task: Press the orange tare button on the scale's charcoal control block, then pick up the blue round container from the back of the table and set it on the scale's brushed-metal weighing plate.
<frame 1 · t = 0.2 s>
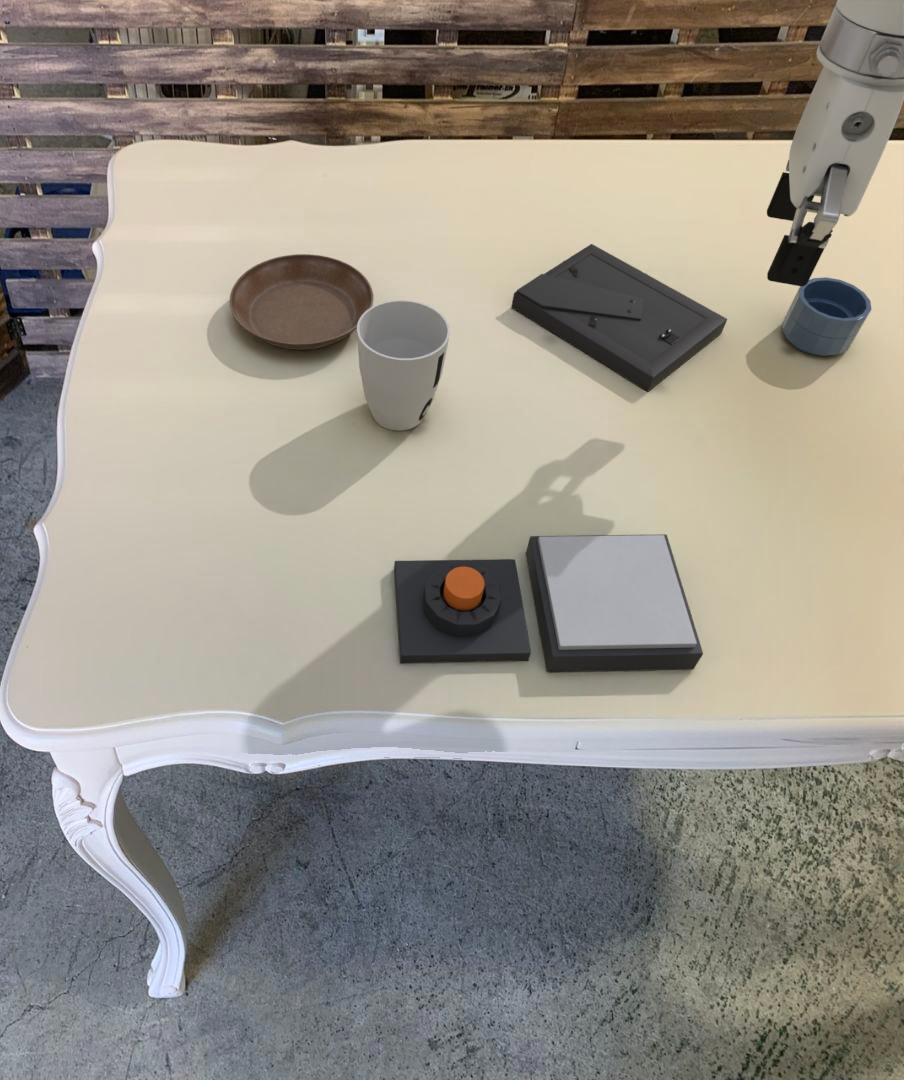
hand: (784, 248, 78), 15 cm above the table, tool pointing down, fingers open, 9 cm apart
blue round container: (814, 337, 94), on the table
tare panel: (458, 613, 72), on the table
cup: (397, 413, 86), on the table
tare button: (463, 588, 69), point 3 cm above the table, slide at 0.1 cm
scale: (605, 608, 73), on the table
picture frame: (615, 322, 96), on the table
saucer: (302, 318, 95), on the table
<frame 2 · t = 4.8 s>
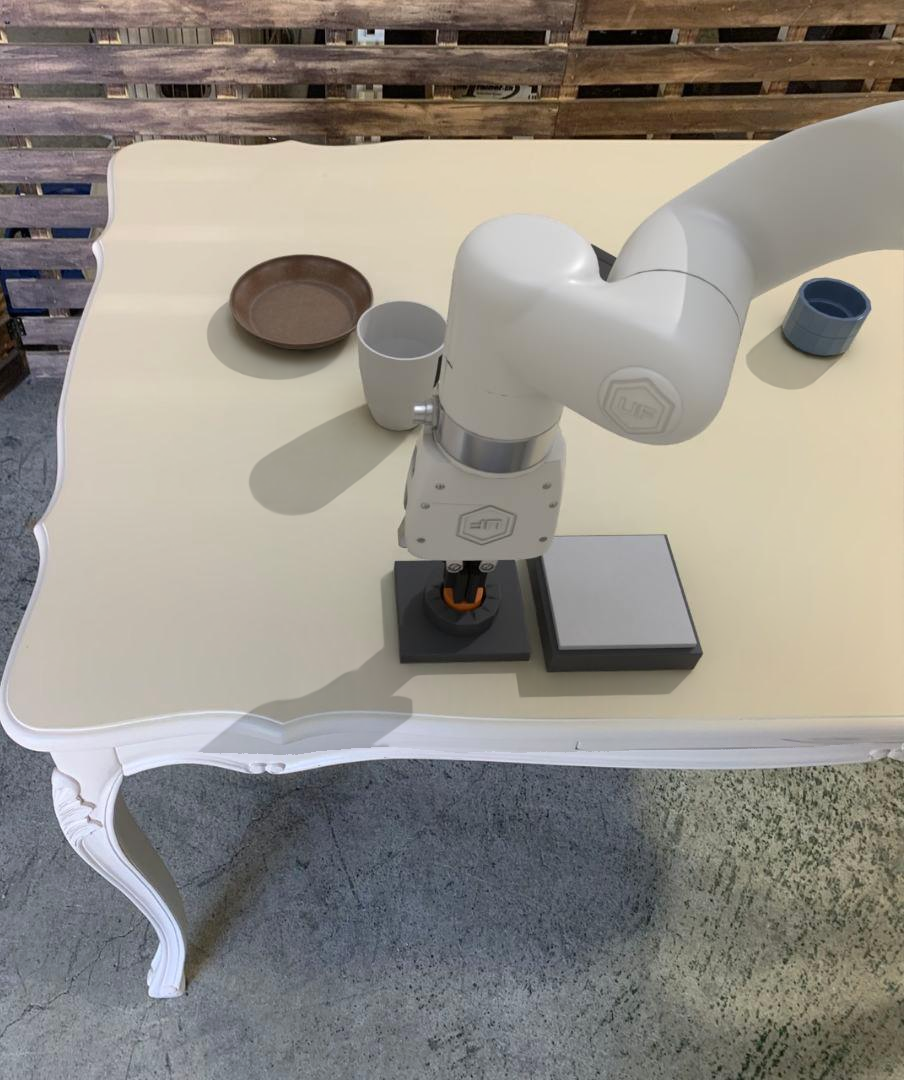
hand: (461, 587, 69), 3 cm above the table, tool pointing down, fingers closed
tare button: (462, 595, 70), point 3 cm above the table, slide at -0.8 cm, touching gripper
everything else where it was.
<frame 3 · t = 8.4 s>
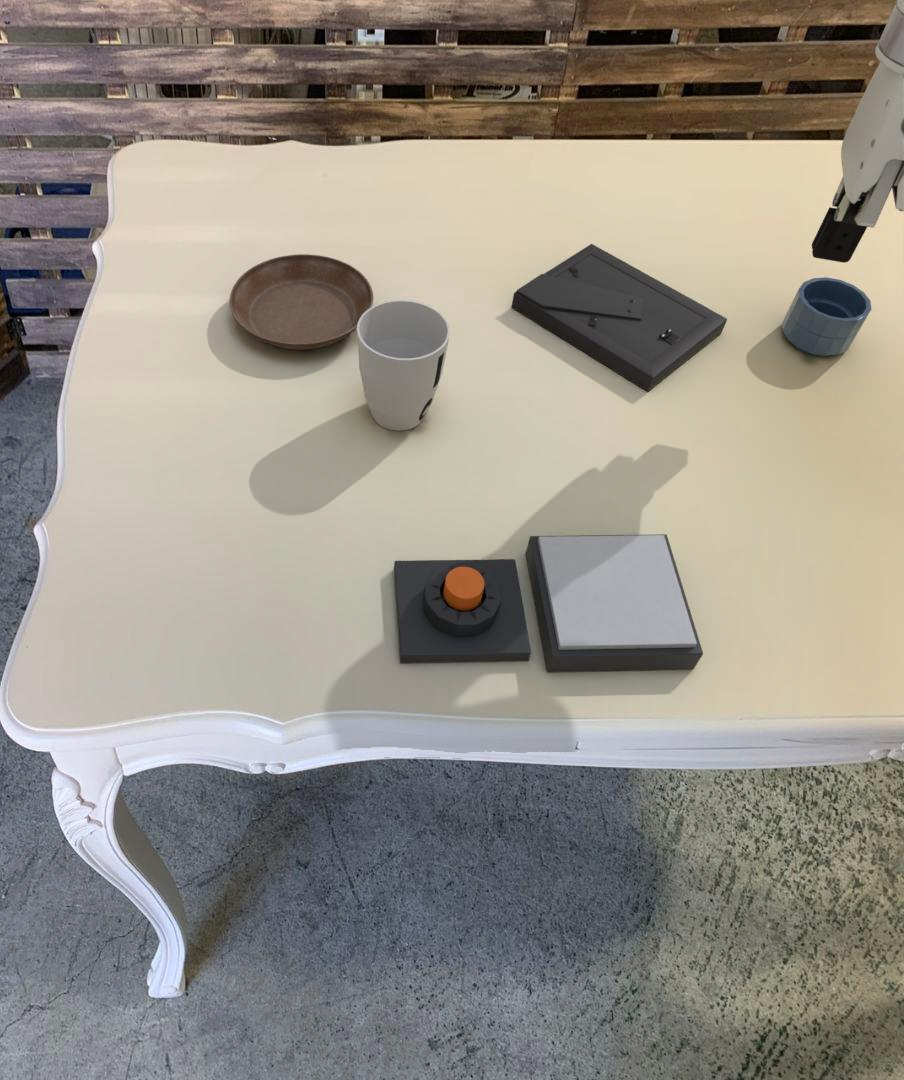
hand: (829, 254, 81), 13 cm above the table, tool pointing down, fingers closed
tare button: (463, 588, 69), point 3 cm above the table, slide at 0.1 cm
everything else where it was.
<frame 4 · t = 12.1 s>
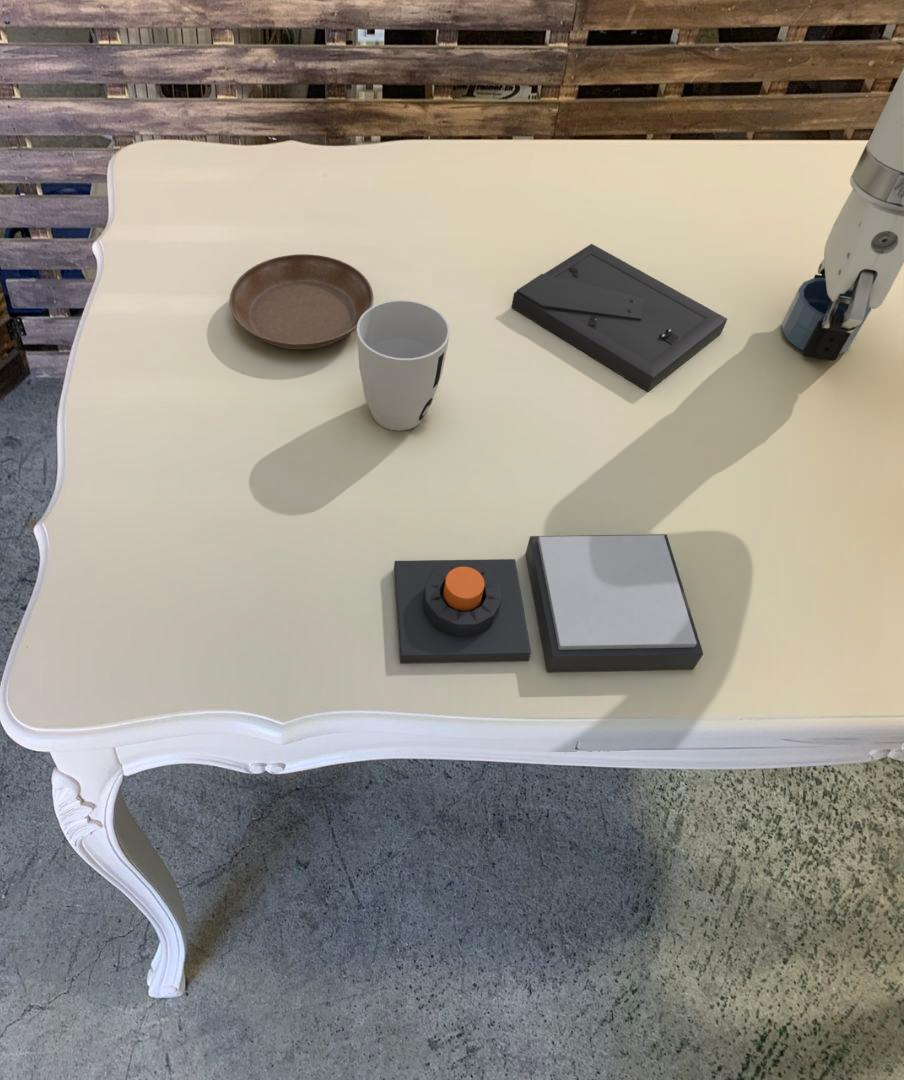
hand: (817, 331, 94), 1 cm above the table, tool pointing down, fingers closed on blue round container, 7 cm apart
blue round container: (814, 337, 94), on the table, touching gripper
everything else where it was.
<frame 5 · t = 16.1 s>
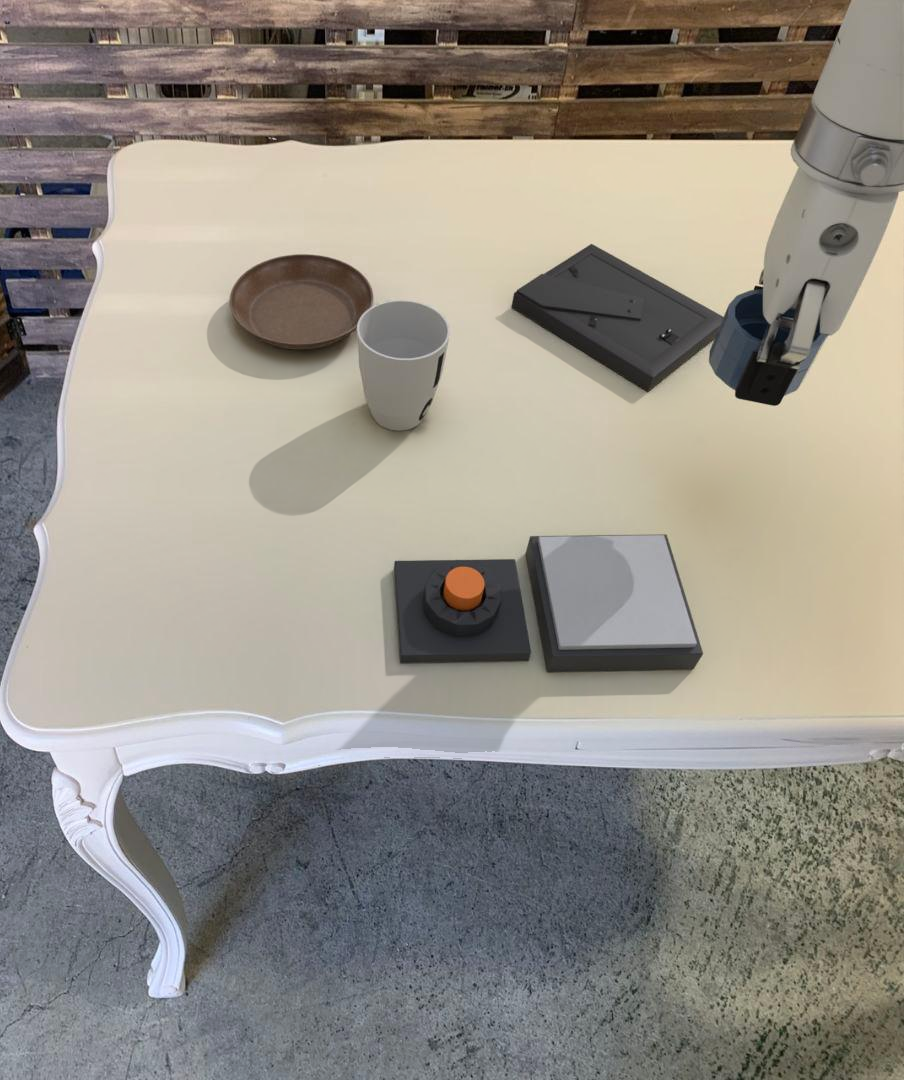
hand: (757, 364, 68), 16 cm above the table, tool pointing down, fingers closed on blue round container, 7 cm apart
blue round container: (753, 371, 69), point 15 cm above the table, touching gripper
everything else where it was.
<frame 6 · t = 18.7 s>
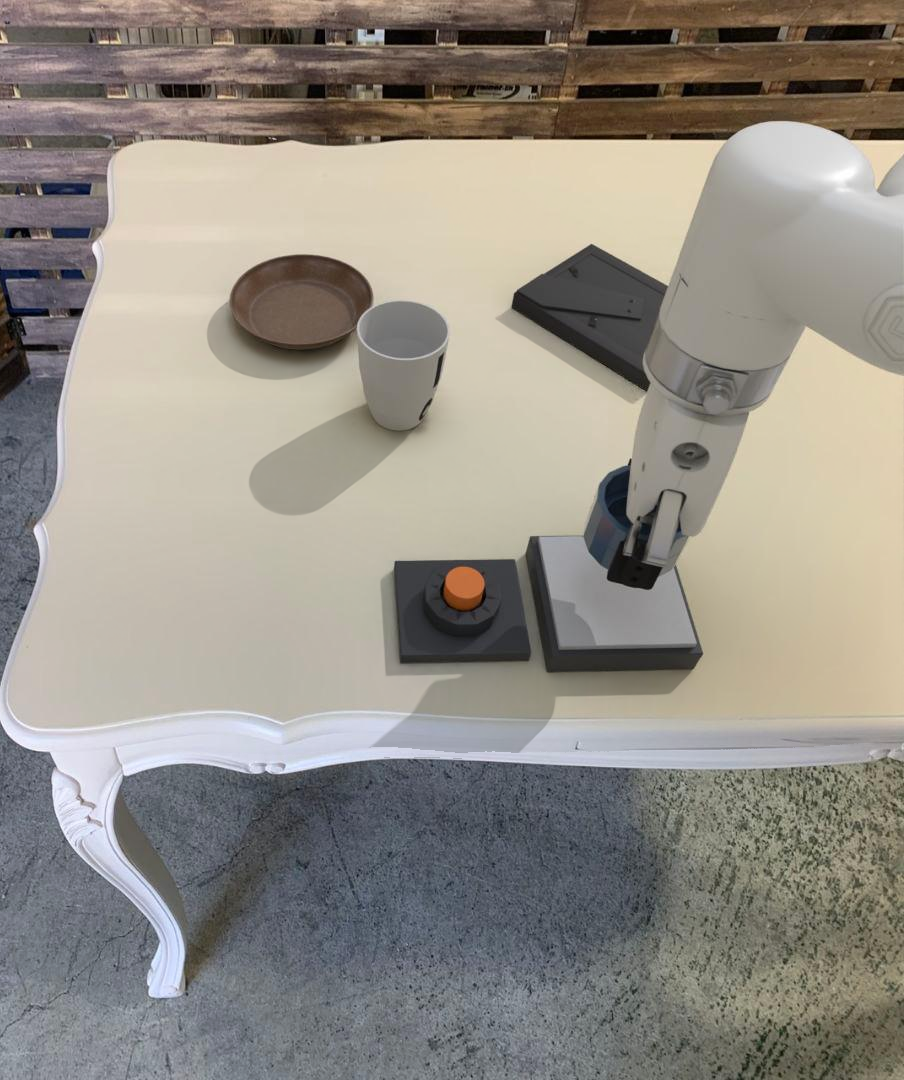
hand: (633, 539, 66), 9 cm above the table, tool pointing down, fingers closed on blue round container, 7 cm apart
blue round container: (629, 545, 66), point 8 cm above the table, touching gripper
everything else where it was.
when the fingers open (4 cm above the table, at t = 20.6 s): blue round container stays where it is, resting on scale.
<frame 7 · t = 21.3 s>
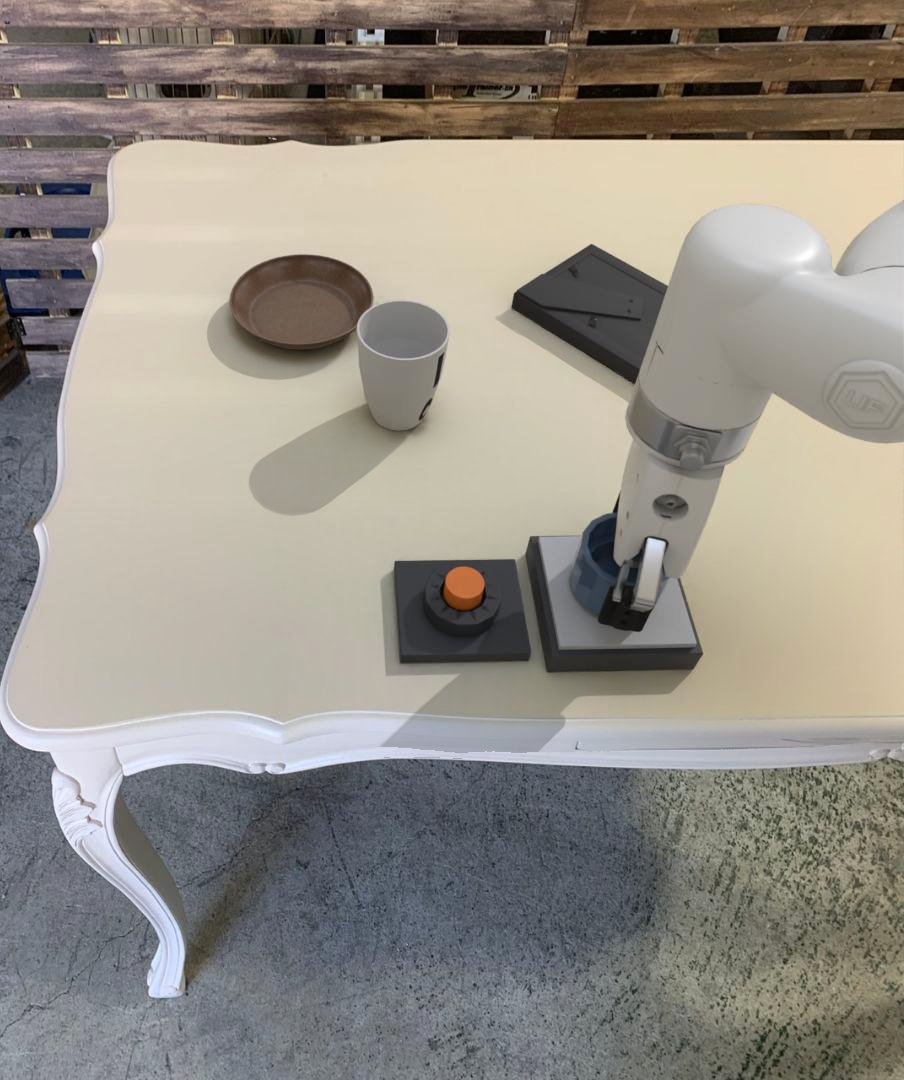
hand: (624, 572, 69), 5 cm above the table, tool pointing down, fingers open, 9 cm apart
blue round container: (612, 587, 70), point 3 cm above the table, touching scale
everything else where it was.
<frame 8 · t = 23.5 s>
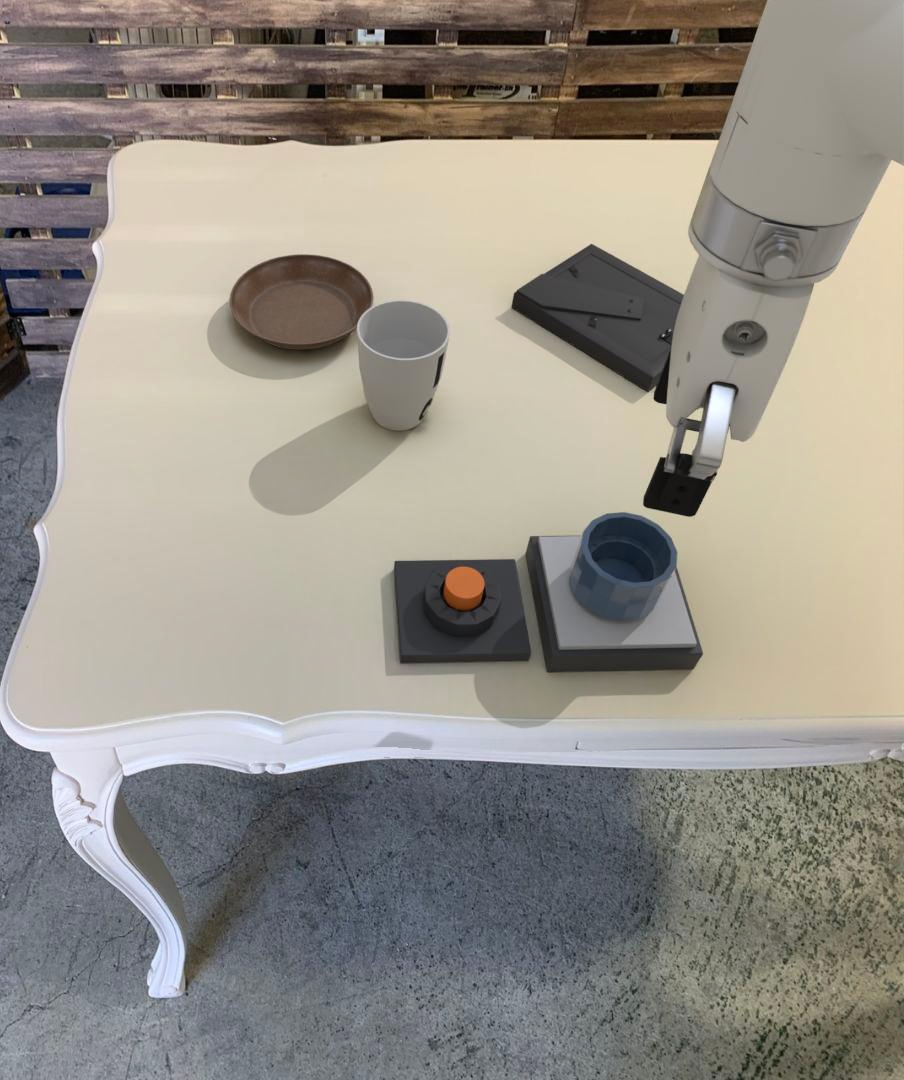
hand: (672, 453, 58), 18 cm above the table, tool pointing down, fingers open, 9 cm apart
nothing on the table moved.
at the end: tare button pushed in 1.1 cm at the most during the clip, back to where it started at the end; blue round container 0.1 cm off-centre on the scale, point 3.0 cm above the scale's base; blue round container tilted 0° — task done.
